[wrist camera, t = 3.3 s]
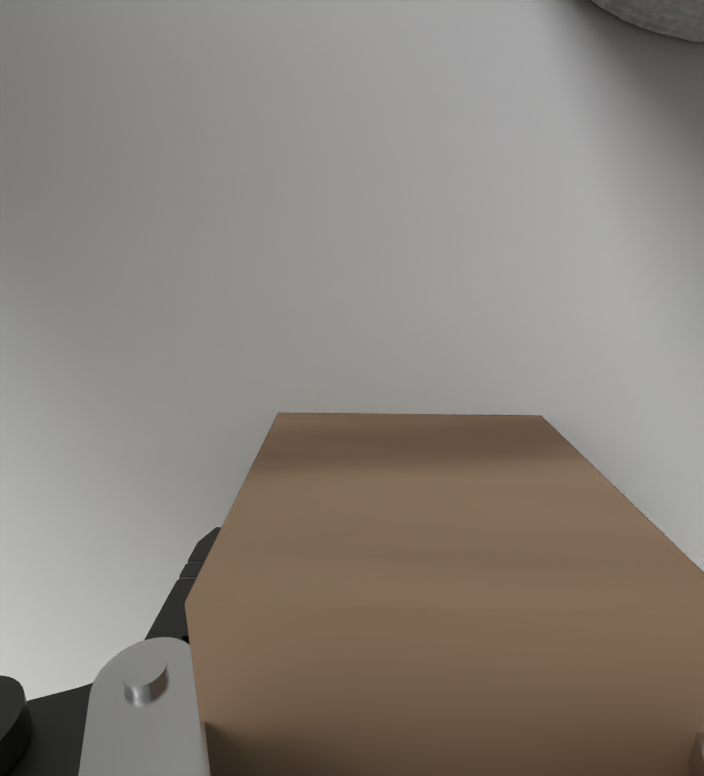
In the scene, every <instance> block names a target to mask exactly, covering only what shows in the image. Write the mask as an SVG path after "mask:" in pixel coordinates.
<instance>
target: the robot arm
mask: <svg viewBox="0 0 704 776" xmlns="http://www.w3.org/2000/svg"><path fill="white" fill-rule="evenodd" d="M220 530H221V528H219V527H216V528H215V529H213V530H212V531H211V532H210V533H209V534H207V535H206V536H205V537H204V538H203V539H201V540H200V541H199V542H198V543H197V545H196V547H195V549H194V550H193V552H192V554H191V556H190V558H189V560H188V564H186V565H185V567H184V569H183V571H182V572H181V574H180V578H179V580H177V581H176V583H175V585H174V587H173V589H172V591H171V592H170V594H169V596H168V598H167V600H166V602H165V603H164V605H163V607H162V609H161V611H160V613H159V614H158V616H157V618H156V620H155V622H154V623H153V625H152V627H151V629H150V631H149V633H148V634H147V636H146V638H145V640H144V641H141V642H139V643H136V644H134V645H132V646H130V647H128V648H126V649H125V650H123V651H121V652H120V653H119V654H117V655H116V656H115V657H113V658H112V659H111V660H110V661H109V662H108V663H107V664H106V665H105V666H104V667H103V668H102V670H101V671H100V672H99V674H98V675H97V677H96V678H95V680H94V682H93V683H91V684H88V685H85V686H82V687H79V688H75V689H71V690H68V691H64V692H60V693H56V694H52V695H48V696H44V697H41V698H37V699H33V700H29V701H26V697H25V694H24V690H23V687H22V686H21V684H20V683H19V682H18V681H16V680H15V679H13V678H10V677H7V676H0V776H211V773H210V764H209V755H208V746H207V738H206V730H205V722H204V721H199V714H198V706H197V698H196V690H195V682H194V674H193V666H192V658H191V650H190V642H189V634H188V626H187V619H186V611H185V601H186V599H187V597H188V595H189V593H190V591H191V589H192V587H193V585H194V583H195V581H196V579H197V577H198V575H199V572H200V570H201V568H202V566H203V564H204V562H205V560H206V558H207V556H208V554H209V552H210V550H211V548H212V546H213V544H214V542H215V540H216V538H217V536H218V534H219V532H220ZM688 766H689V771H690V775H691V776H704V733H697V734H696V737H695V741H694V744H693V747H692V750H691V754H690V757H689V760H688Z"/></svg>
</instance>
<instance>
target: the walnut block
mask: <svg viewBox="0 0 704 776" xmlns="http://www.w3.org/2000/svg"><path fill="white" fill-rule="evenodd" d="M185 611H186V619H187V626H188V634H189V642H190V650H191V658H192V666H193V674H194V682H195V690H196V698H197V706H198V714H199V721H204V722H205V730H206V738H207V746H208V755H209V764H210V773H211V776H691V775H690V771H689V766H688V760H689V757H690V754H691V750H692V747H693V744H694V741H695V737H696V734H697V733H704V572H703V571H702V570H701V569H700V568H699V567H698V566H696V565H695V564H694V563H693V562H692V561H691V560H690V559H689V558H688V557H687V556H686V555H685V554H684V553H683V552H682V551H681V550H680V549H679V548H678V547H677V546H676V545H675V544H674V543H673V542H672V541H671V540H670V539H668V538H667V537H666V536H665V535H664V534H663V533H662V532H661V531H660V530H659V529H658V528H657V527H656V526H655V525H654V524H653V523H652V522H651V521H650V520H649V519H648V518H647V517H646V516H645V515H644V514H643V513H642V512H640V511H639V510H638V509H637V508H636V507H635V506H634V505H633V504H632V503H631V502H630V501H629V500H628V499H627V498H626V497H625V496H624V495H623V494H622V493H621V492H620V491H619V490H618V489H617V488H616V487H615V486H613V485H612V484H611V483H610V482H609V481H608V480H607V479H606V478H605V477H604V476H603V475H602V474H601V473H600V472H599V471H598V470H597V469H596V468H595V467H594V466H593V465H592V464H591V463H590V462H589V461H588V460H587V459H585V458H584V457H583V456H582V455H581V454H580V453H579V452H578V451H577V450H576V449H575V448H574V447H573V446H572V445H571V444H570V443H569V442H568V441H567V440H566V439H565V438H564V437H563V436H562V435H561V434H560V433H559V432H557V431H556V430H555V429H554V428H553V427H552V426H551V425H550V424H549V423H548V422H547V421H546V420H545V419H544V418H543V417H542V416H535V415H445V414H356V413H278V414H277V416H276V418H275V420H274V422H273V424H272V426H271V428H270V430H269V432H268V434H267V437H266V439H265V441H264V443H263V445H262V447H261V449H260V451H259V453H258V455H257V457H256V459H255V461H254V463H253V465H252V467H251V469H250V471H249V473H248V475H247V477H246V479H245V481H244V483H243V485H242V487H241V489H240V491H239V493H238V495H237V497H236V499H235V501H234V503H233V506H232V508H231V510H230V512H229V514H228V516H227V518H226V520H225V522H224V524H223V526H222V528H221V530H220V532H219V534H218V536H217V538H216V540H215V542H214V544H213V546H212V548H211V550H210V552H209V554H208V556H207V558H206V560H205V562H204V564H203V566H202V568H201V570H200V572H199V575H198V577H197V579H196V581H195V583H194V585H193V587H192V589H191V591H190V593H189V595H188V597H187V599H186V601H185Z"/></svg>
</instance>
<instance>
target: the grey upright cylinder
mask: <svg viewBox="0 0 704 776" xmlns="http://www.w3.org/2000/svg"><path fill="white" fill-rule="evenodd" d="M591 1H592V2H594V3H595V4H596V5H597V6H599V7H600V8H602V9H604V10H606V11H608V12H609V13H611V14H613V15H615V16H617V17H619V18H620V19H622V20H623V21H625V22H628V23H631V24H633V25H635V26H638V27H641V28H643V29H645V30H649V31H652V32H654V33H659V34H662V35H666V36H672V37H678V38H681V39H684V40H687V41H691V42H704V0H591Z"/></svg>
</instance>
